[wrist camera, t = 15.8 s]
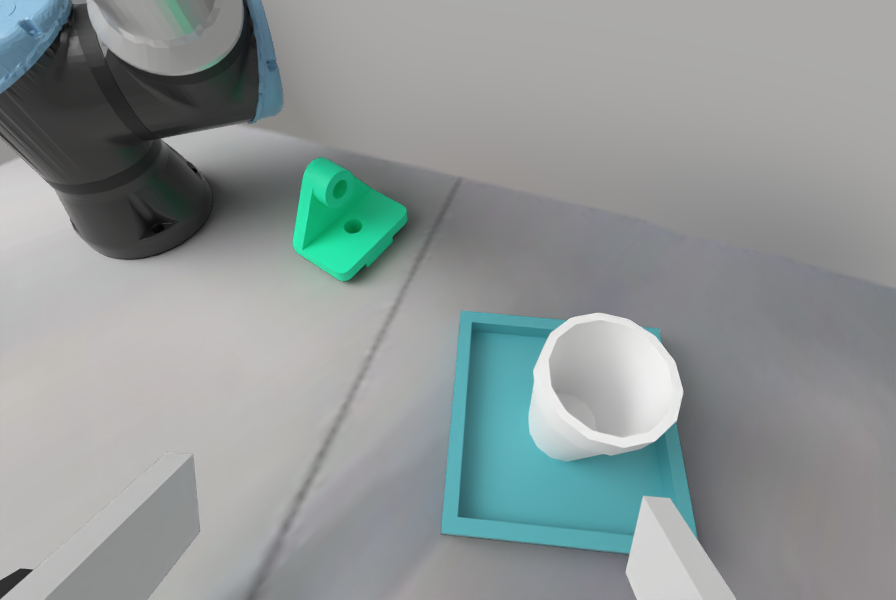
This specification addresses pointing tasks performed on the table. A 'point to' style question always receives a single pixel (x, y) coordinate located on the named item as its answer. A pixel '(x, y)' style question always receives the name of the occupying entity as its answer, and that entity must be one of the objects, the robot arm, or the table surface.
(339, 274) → the camera mount
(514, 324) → the teal tray
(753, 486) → the table surface
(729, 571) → the table surface
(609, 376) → the foam cup
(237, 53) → the robot arm
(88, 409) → the table surface
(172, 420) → the table surface
